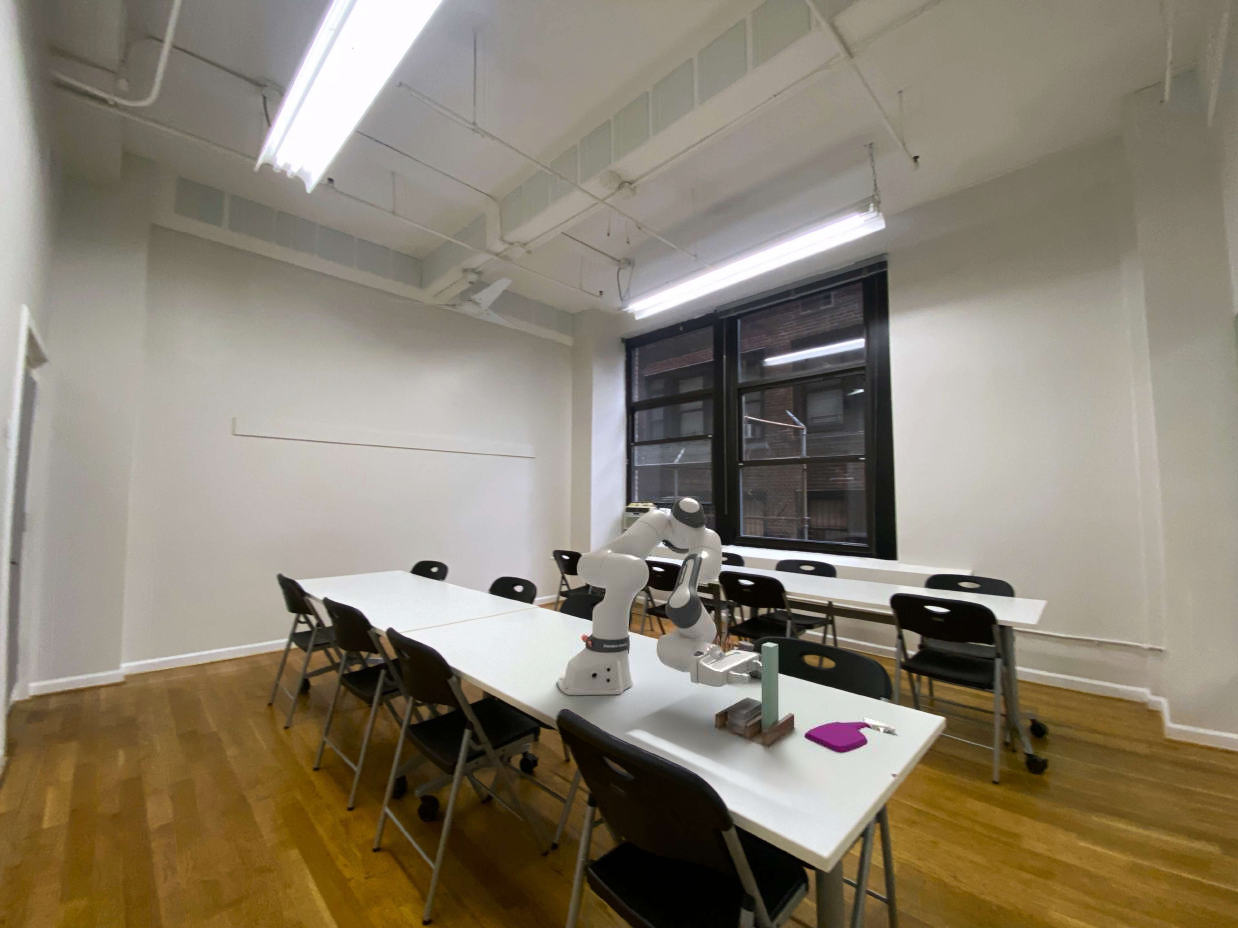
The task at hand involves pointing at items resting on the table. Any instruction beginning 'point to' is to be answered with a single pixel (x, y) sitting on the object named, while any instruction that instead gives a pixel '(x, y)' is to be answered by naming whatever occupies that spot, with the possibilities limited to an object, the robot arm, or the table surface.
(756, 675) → the pipe fitting
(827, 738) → the spray bottle
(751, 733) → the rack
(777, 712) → the tall board
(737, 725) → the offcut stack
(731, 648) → the ammunition clip
